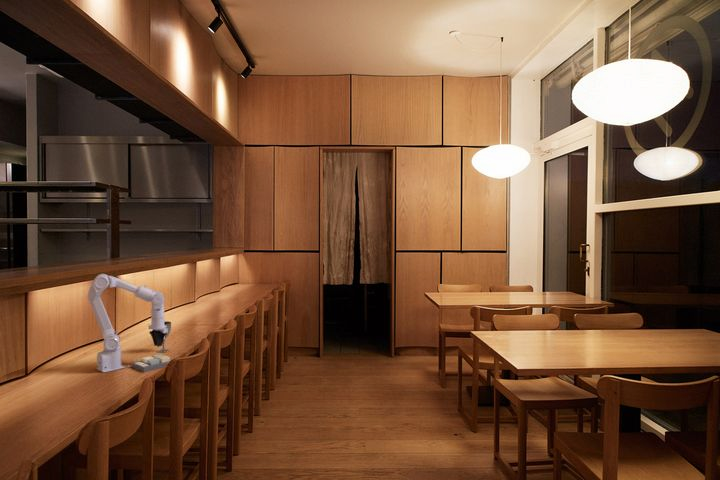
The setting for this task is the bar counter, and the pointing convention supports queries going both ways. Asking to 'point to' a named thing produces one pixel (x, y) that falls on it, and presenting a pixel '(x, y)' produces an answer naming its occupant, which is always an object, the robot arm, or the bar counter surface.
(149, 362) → the key slate
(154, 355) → the key sage
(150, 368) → the keyguard
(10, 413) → the bar counter surface
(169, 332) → the wine glass
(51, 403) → the bar counter surface
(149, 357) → the key cream
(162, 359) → the key sand
